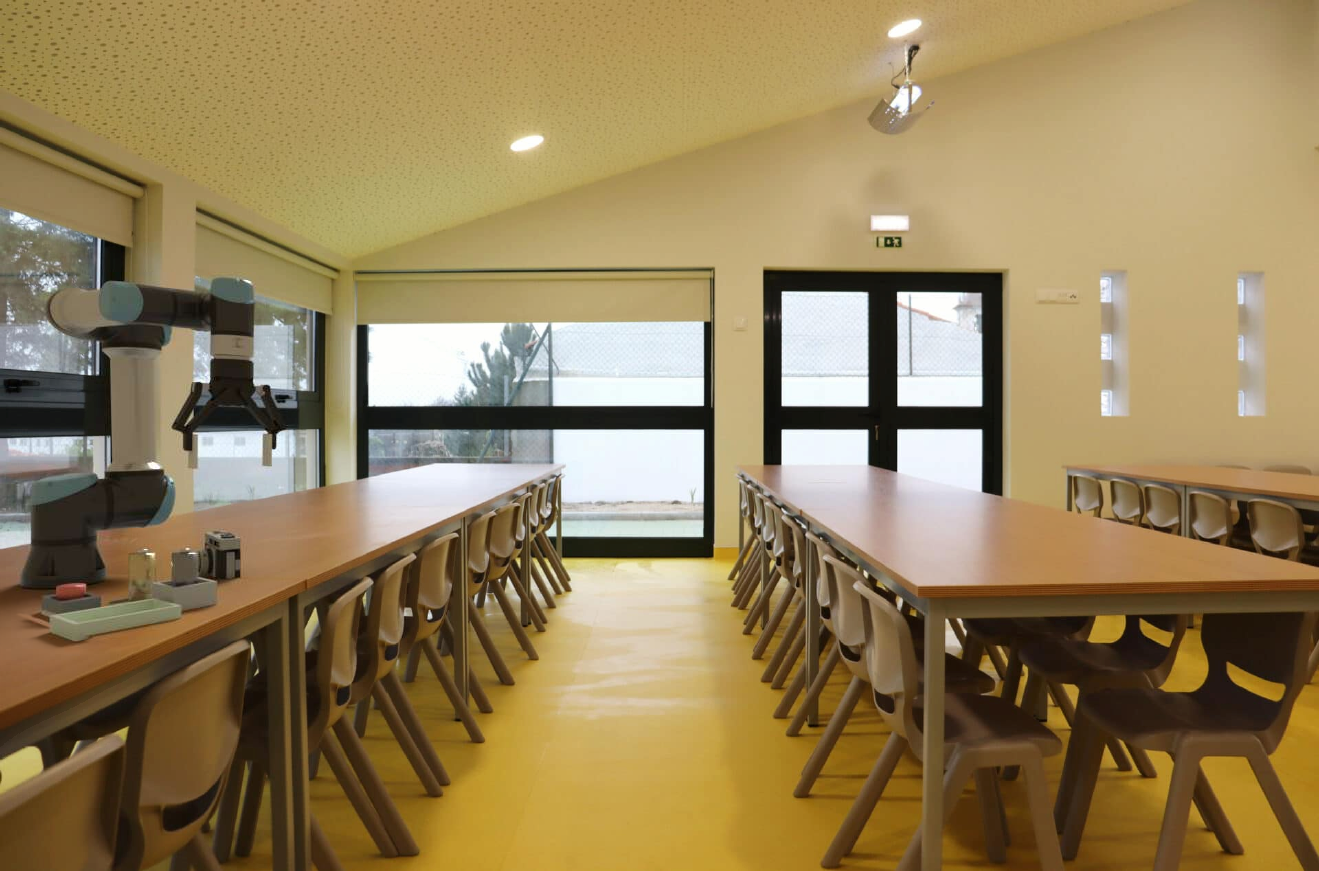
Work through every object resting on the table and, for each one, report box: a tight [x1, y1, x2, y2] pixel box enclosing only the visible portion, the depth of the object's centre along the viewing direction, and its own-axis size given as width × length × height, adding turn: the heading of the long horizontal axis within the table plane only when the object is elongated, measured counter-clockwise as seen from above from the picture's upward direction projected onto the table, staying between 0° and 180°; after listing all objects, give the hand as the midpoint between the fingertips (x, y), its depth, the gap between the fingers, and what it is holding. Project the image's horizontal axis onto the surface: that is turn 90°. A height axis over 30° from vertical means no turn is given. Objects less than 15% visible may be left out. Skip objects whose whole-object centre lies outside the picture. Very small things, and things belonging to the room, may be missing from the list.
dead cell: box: [171, 547, 199, 587], centre depth 154 cm, size 4×4×11 cm
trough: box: [49, 598, 182, 642], centre depth 141 cm, size 10×17×3 cm, turn 147°
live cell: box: [128, 548, 157, 603], centre depth 156 cm, size 4×4×11 cm
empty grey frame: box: [109, 597, 129, 604], centre depth 156 cm, size 8×10×1 cm
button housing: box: [40, 592, 102, 618], centre depth 147 cm, size 9×7×4 cm
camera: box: [197, 529, 242, 580], centre depth 184 cm, size 14×8×10 cm, turn 42°
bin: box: [152, 576, 218, 612], centre depth 154 cm, size 8×8×5 cm
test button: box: [55, 583, 87, 599], centre depth 147 cm, size 4×4×2 cm
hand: (231, 467), depth 158 cm, fingers open, 13 cm apart
